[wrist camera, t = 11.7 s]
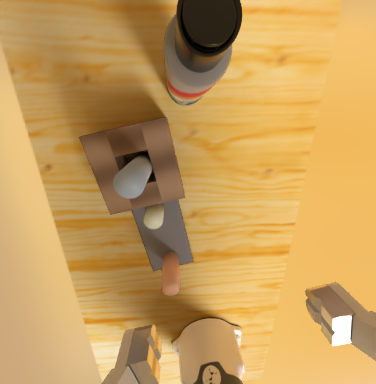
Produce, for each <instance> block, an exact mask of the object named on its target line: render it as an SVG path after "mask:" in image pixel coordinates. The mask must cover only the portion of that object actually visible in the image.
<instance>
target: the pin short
mask: <svg viewBox="0 0 376 384" xmlns="http://www.w3.org/2000/svg"><path fill="white" fill-rule="evenodd" d="M163 216H164V205H163V204H162V203H159V204H155V205H151V206H147V210H146V213H145V216H144V224H145V226H146V227H148V228H150V229H157V228H159V227H160V226H161V225H162V224H163Z"/></svg>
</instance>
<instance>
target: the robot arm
mask: <svg viewBox="0 0 376 384" xmlns="http://www.w3.org/2000/svg"><path fill="white" fill-rule="evenodd" d="M305 292H306V296H307V297H308V299H307V300H306V306H307V309H308V311H309V313H310V315H311V317H312V318H313V320H314V321H315V322H317V323H318V324H320V325H321V331H322V332H323V333H324V335H325V336H326V338H327V339H328V341H329V342H330V343H331V345H332V346H335V345H340V344H346V343H351V344H353V345H354V346H355V347H357V348H358V349H360V350H361V351H362V352H364V353H365V354H367V355H368V356H370V357H371V358H372V359H374V360H375V361H376V313H375V312H373V311H369V312H368V311H367V310H366V309H365V308H364V307H363V306H362V305H361V304H360V303H359V302H358V301H357V300H355V299H354V298H353V297H352V296H351V295H350V294H349V293H348V292H347V291H346V290H345V289H344V288H343V287H342V286H341V285H340V284H338V283H336V282H335V283H330V284H326V285H321V286H317V287H313V288H309V289H306V291H305ZM241 335H242V331H241V328H240V327H238V326H234V325H230V324H229V323H227V322H225V321H223V320H220V319H215V318H207V319H202V320H198V321H196V322H193V323H191V324H190V325H188V326H187V327H186V328H185V329H184V330H183V332H182V333H181V335H180V337H179V338H178V339H176V340H175V341H174V342H173V343H172V347H173V350H174V351H175V352H176V354H177V355H178V356H179V365H180V378H181V383H183V384H243V383H242V381H241V377H242V374H243V373H245V370H244V368H245V366H244V362H243V359H242V355H241V352H240V343H241ZM161 351H162V347H161V339H160V336H159V334H157V333H156V327H155V325H149V326H144V327H139V328H134V329H130V330H126V331H125V333H124V335H123V339H122V343H121V347H120V350H119V354H118V358H117V361H116V365H115V368H114V369H112V370H111V371H110V372H109V374H108V375H107V377H106V378H105V379H104V381H103V382H102V384H159V378H160V365H159V363H158V361H159V359H160V357H161Z"/></svg>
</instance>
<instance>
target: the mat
mask: <svg viewBox="0 0 376 384" xmlns="http://www.w3.org/2000/svg"><path fill="white" fill-rule="evenodd" d="M162 204H163V205H164V216H163V224H162V225H161V226H160V227H159V228H157V229H150V228H148V227H146V226H145V224H144V216H145V213H146V210H147V206H146V207H142V208H138V209H133V210H132V212H133V215H134V218H135V221H136V223H137V226H138V229H139V232H140V235H141V237H142V240H143V243H144V246H145V249H146V251H147V254H148V257H149V260H150V263H151V265H152V268H153V271H157V270H161V269H163V256H164V254H165V253H167V252H170V251H173V252H175V253H177V255H178V261H179V265H183V264H187V263H191V262H194V261H193V257H192V253H191V249H190V245H189V241H188V237H187V233H186V229H185V225H184V221H183V217H182V213H181V209H180V206H179V202H178V199H177V200H173V201H168V202H164V203H162Z"/></svg>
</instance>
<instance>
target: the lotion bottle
mask: <svg viewBox="0 0 376 384" xmlns="http://www.w3.org/2000/svg"><path fill="white" fill-rule="evenodd" d="M241 22H242V7H241V3H240V0H178V4H177V13H176V15H175V16H174V17H173V18H172V20H171V21H170V23H169V25H168V28H167V30H166V33H165V38H164V60H165V69H166V78H167V87H168V91H169V94H170V96H171V98H172V99H173V100H174V101H175V102H176V103H178V104H180V105H183V106H189V105H192V104H194V103H196V102H197V101H198V100H199V99H200V98H201V97H202V96H203V95H204V94H205V93H206V92H207V91H208V90H209V89H211V88H212V87H213V86H214V85H215V84H216V83H217V81H218V80H219V79H220V78H221V77H222V76H223V74H224V73H225V71H226V69H227V67H228V65H229V62H230V59H231V54H232V43H233V42H234V40H235V39H236V37H237V35H238V32H239V30H240V26H241Z"/></svg>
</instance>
